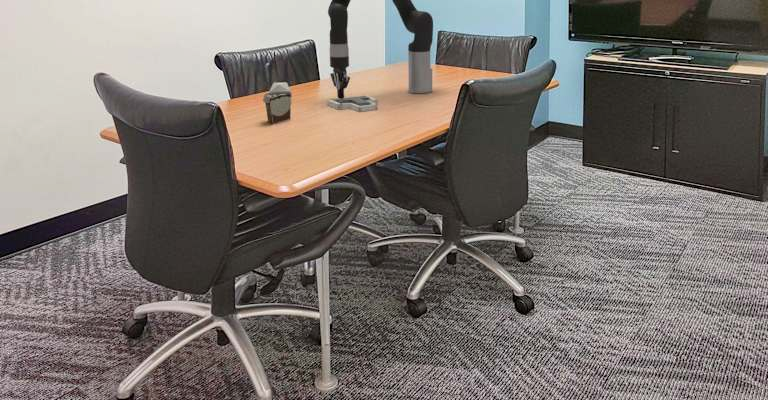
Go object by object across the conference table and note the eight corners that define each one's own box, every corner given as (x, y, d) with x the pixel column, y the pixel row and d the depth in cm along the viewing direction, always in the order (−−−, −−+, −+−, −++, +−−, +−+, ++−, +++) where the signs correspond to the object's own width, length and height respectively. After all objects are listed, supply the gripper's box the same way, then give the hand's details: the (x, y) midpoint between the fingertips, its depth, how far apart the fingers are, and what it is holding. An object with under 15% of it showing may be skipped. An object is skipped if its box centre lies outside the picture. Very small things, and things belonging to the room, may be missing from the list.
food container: (280, 116, 280) (278, 89, 277) (293, 118, 277) (291, 91, 274) (257, 123, 271) (255, 95, 267) (270, 125, 267) (268, 97, 264)
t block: (364, 103, 301) (364, 95, 300) (378, 108, 291) (378, 100, 290) (337, 106, 296) (336, 99, 295) (350, 112, 286) (350, 104, 285)
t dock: (365, 100, 306) (365, 95, 305) (387, 108, 291) (387, 102, 290) (327, 105, 298) (327, 100, 297) (348, 113, 283) (348, 108, 283)
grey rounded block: (282, 107, 298) (295, 86, 299) (262, 96, 299) (275, 74, 299) (285, 111, 307) (297, 89, 307) (265, 99, 307) (278, 78, 307)
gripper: (355, 56, 297) (356, 99, 302) (340, 52, 308) (341, 94, 313) (338, 57, 293) (340, 102, 299) (323, 53, 304) (325, 96, 310)
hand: (340, 98), depth 306 cm, fingers closed
